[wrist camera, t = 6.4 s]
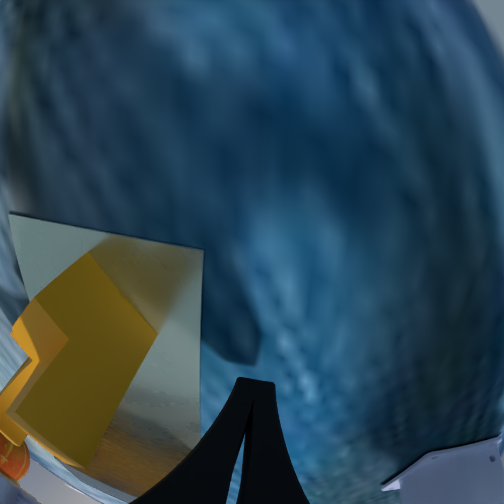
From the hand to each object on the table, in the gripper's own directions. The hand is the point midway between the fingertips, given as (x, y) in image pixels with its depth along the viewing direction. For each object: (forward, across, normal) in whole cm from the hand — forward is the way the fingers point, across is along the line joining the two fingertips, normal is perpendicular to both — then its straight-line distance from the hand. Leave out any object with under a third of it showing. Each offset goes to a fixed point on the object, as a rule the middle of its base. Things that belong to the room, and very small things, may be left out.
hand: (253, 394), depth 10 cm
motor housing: (+1, +9, +6) cm, 11 cm away
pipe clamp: (+1, +10, +1) cm, 10 cm away
